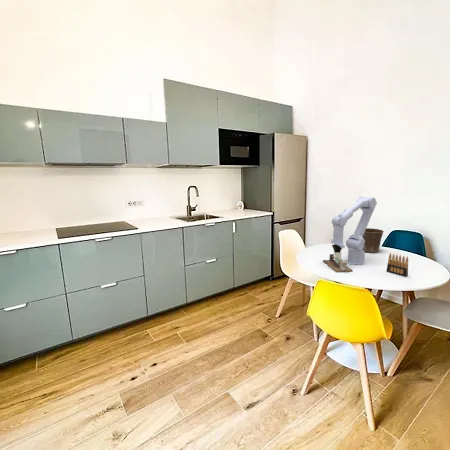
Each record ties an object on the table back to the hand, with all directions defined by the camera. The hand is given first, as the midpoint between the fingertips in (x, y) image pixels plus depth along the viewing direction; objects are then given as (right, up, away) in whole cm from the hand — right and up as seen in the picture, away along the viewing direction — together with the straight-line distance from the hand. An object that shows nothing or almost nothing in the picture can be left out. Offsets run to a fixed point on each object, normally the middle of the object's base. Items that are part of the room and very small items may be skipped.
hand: (336, 256), depth 166 cm
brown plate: (0, -7, +1) cm, 7 cm away
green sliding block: (0, -4, -2) cm, 5 cm away
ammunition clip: (+29, -9, -14) cm, 33 cm away
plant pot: (+38, 0, +31) cm, 49 cm away
